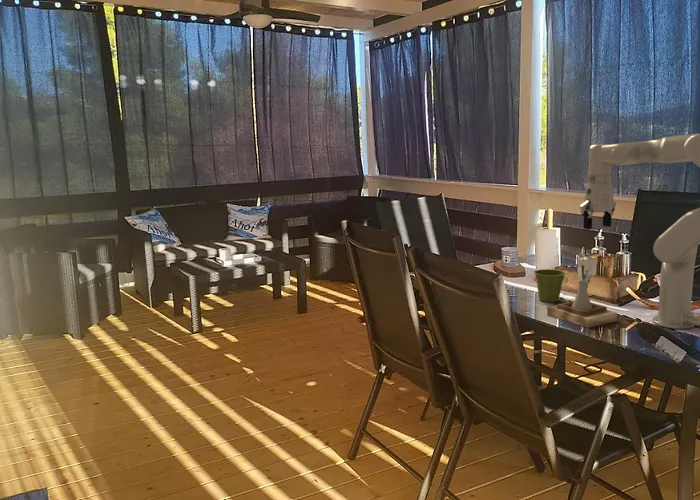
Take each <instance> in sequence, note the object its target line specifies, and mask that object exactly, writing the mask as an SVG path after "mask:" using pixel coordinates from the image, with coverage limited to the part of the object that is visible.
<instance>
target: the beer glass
mask: <svg viewBox="0 0 700 500" xmlns="http://www.w3.org/2000/svg"><path fill="white" fill-rule="evenodd" d="M577 260H578V261H577V278H578V281H587V282H588V284H589V282H590V278H591V276H594V275H597V258H596V257H594V256H579V257H578V259H577ZM588 284H587V288H588Z"/></svg>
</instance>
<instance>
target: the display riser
mask: <svg viewBox="0 0 700 500" xmlns="http://www.w3.org/2000/svg"><path fill="white" fill-rule="evenodd" d="M573 302H574V300H571V301H567V302H562V303H558V304H554V305H551V306H547V311H546V312H547V313H546V315H547V316H549V317H552V318H555V319H559V320H562V321H565V322H568V323H571V324H574V325H578V326H581V327H584V328H586V329H588V328H593V327H597V326H598V327H599V326H601V325H605V324H610V323H615V322H617V321H618V320H617V319H618V312H616V311H612V310H609V309H607V306H605V305H601V304H598V303H593V302H591V305H592V309H588V310H579V309H576V308H572V305H573Z"/></svg>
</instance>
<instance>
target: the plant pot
mask: <svg viewBox="0 0 700 500" xmlns="http://www.w3.org/2000/svg"><path fill="white" fill-rule="evenodd" d="M533 273H534V274H535V279H536V280H535V281H536V285H537V293H538V299H539V301H541V302H544V303H556V302H559V300H560V294H561V290H562V285H563V281H564V278H565V275H567V273H566V272H565V271H562V270H560V269H550V268H549V269H545V268H544V269H535V270H534V271H533Z"/></svg>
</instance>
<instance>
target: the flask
mask: <svg viewBox="0 0 700 500" xmlns="http://www.w3.org/2000/svg"><path fill="white" fill-rule="evenodd" d="M577 283H578V287H577V288H578V289H577V292H576V296H575V298H574V300H573V301H574V302H573V305H572V308H576V309H579V310H588V309H592V305H591V303H592V302H591V300H590V297H589V296H588V293H587V284H588V282H587V281H579V280H578V281H577Z"/></svg>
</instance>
